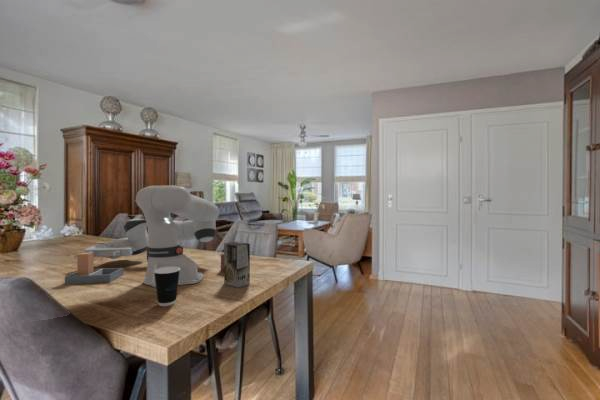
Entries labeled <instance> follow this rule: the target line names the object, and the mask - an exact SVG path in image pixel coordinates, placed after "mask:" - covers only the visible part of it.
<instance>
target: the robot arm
mask: <svg viewBox="0 0 600 400" xmlns="http://www.w3.org/2000/svg"><path fill="white" fill-rule="evenodd" d="M135 202H136V204H137V206H138V207H139V208H140V210H141V212H142V214H143V216H144V218H133V219H129V220H127V221H126V222H125V223H124V226H123V230H124V232H125V235H126V237H124V238H123V237H121V238H118V239H116V240H112V241H108V242H102V243H101V242H100V243H96V244H94V245H93V246H92V245H91V246H89V247H87V248H85V249H83V253H90V252H93V253H94V258H107V259H112V260H117V259H118V258H121V257H131V256H136V255H139V254H143V253H145V252H146V261H147V266H146V272H145V276H144V280H143V284H145V285H148V286H151V287H153V288H156V282H155V274H154V272H153V271H154V270H155V269H158V268H162V267H179V268H180V270H179V279H178V286H183V285H192V284H193V285H194V284H196V283H200V282H201V281H202V280H203V279H204V274H203V273H202V272H198V265H197V263H196V261H194V260H192V259H191V258H189V256H186V255H185V254H184V246H181V245H179V243H185V242H191V241H193V240H194V241H195V240H197V241H198V242H201V243H206V242H210V241H213V240H214V239H215V238H217V237H216V236H217V229H216V222H217V221H216V220H217V219H218V218H219V215H220V210H219V207H218V206H217V205H216V204H215V203H213V202H211V201H210V200H207V199H205V198H202V197H200V196H197V195H194V194H192V193H191V192H190V191H189V190H188V188H186V187H183V186H178V185H176V184H174V185H173V184H171V185H170V184H169V185H148V186H146V187H143V188H140V189H139V190H138V191H137V192H136V195H135ZM171 214H173V215H177V216H179V217H180V218H182V219H186V220H183V221H180V220H177V219H175V218H174V217H172V216H171Z"/></svg>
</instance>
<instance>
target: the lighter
mask: <svg viewBox="0 0 600 400" xmlns="http://www.w3.org/2000/svg"><path fill="white" fill-rule="evenodd" d="M220 272H224V248H223V249H221V254H220Z"/></svg>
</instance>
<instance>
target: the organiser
mask: <svg viewBox="0 0 600 400" xmlns="http://www.w3.org/2000/svg"><path fill="white" fill-rule="evenodd" d="M123 275H124V267H112V268H111V267H108V268H107V267H106V268H104V267H103V268H102V267H101V268H94V272H93V273H91V274H89V275H78V276H77V271H75V272H73V273H70V274H67V275H65V276H64V284H65V285H73V284H74V285H76V284H78V285H79V284H100V283H103V284H104V283H112V282H113V281H115V280H116V279H118V278H120V277H122V276H123Z"/></svg>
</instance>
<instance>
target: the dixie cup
mask: <svg viewBox="0 0 600 400" xmlns="http://www.w3.org/2000/svg"><path fill="white" fill-rule="evenodd" d="M179 270H180V268H179V267H162V268H158V269H155V270H154V271H153V272H154V274H155V282H156V287H155V288H156V289H155V290H156V296H157V303H158V306H160V307H169V306H173V305H174V304H176V300H177V298H178V297H177V294H178V286H179V285H178V279H179Z"/></svg>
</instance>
